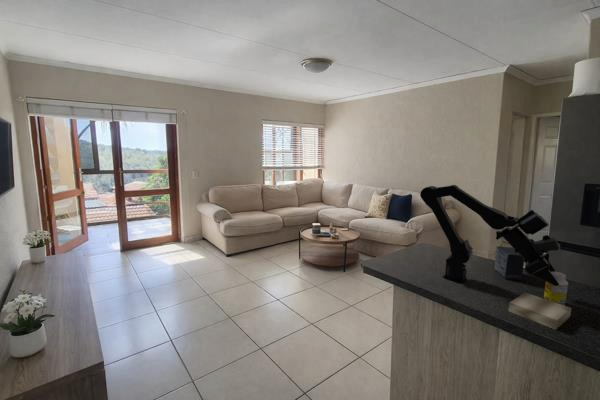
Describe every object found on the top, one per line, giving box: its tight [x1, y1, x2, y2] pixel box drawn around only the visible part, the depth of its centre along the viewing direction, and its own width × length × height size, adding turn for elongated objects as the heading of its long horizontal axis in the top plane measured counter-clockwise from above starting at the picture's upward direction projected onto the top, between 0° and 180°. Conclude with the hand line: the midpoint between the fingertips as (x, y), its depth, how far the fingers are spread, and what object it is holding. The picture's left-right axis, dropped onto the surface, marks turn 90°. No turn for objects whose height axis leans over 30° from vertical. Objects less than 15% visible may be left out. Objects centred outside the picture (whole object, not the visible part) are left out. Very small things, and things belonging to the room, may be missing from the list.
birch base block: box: [507, 292, 572, 330], centre depth 93 cm, size 12×12×3 cm
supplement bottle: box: [543, 271, 569, 306], centre depth 99 cm, size 6×6×10 cm
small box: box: [493, 245, 525, 281], centre depth 122 cm, size 11×6×10 cm, turn 168°
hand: (557, 280), depth 99 cm, fingers open, 9 cm apart
